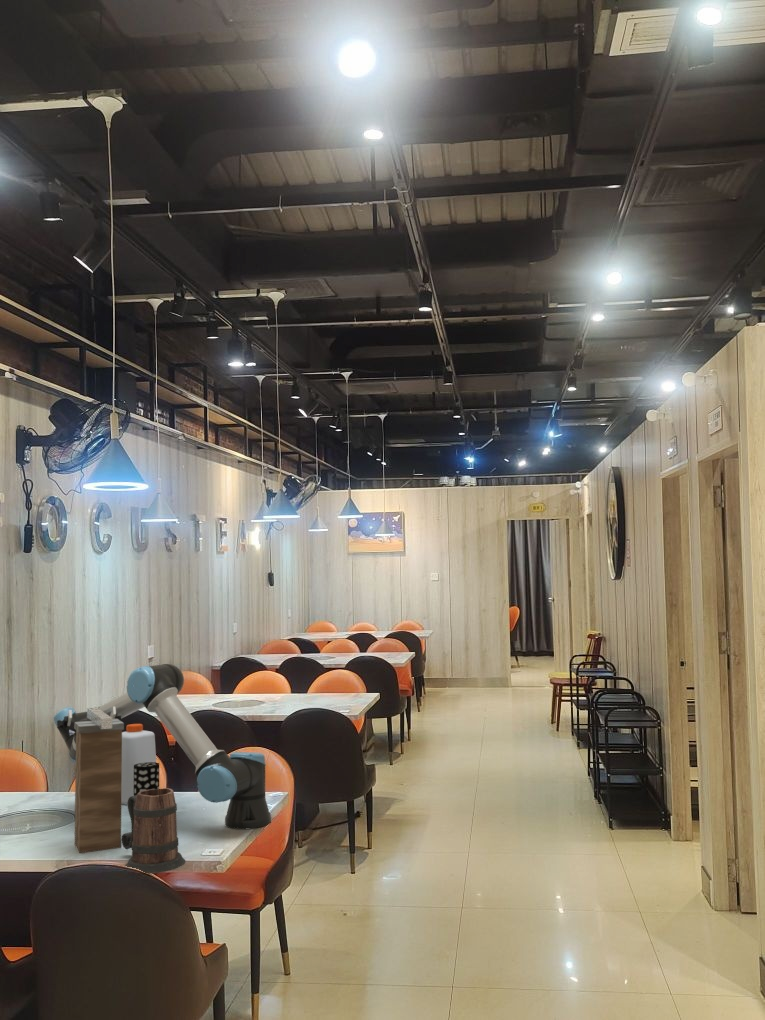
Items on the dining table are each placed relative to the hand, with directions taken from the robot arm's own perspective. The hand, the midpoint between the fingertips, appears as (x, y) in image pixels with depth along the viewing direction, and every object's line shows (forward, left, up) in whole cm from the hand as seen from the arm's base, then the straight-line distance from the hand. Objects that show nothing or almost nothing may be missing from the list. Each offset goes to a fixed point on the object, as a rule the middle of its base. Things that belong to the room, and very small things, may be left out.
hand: (92, 711), depth 276 cm
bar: (-10, +6, -2) cm, 12 cm away
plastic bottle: (+29, -41, -39) cm, 64 cm away
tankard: (-38, +10, -39) cm, 55 cm away
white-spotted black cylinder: (-6, -17, -39) cm, 43 cm away
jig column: (-10, +6, -39) cm, 41 cm away
